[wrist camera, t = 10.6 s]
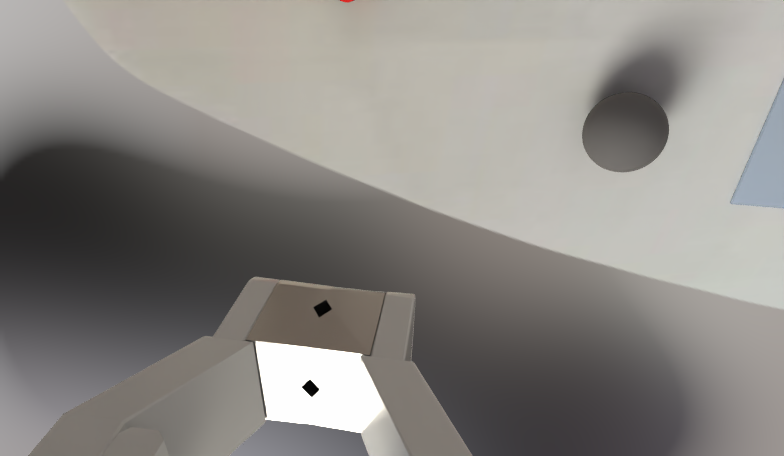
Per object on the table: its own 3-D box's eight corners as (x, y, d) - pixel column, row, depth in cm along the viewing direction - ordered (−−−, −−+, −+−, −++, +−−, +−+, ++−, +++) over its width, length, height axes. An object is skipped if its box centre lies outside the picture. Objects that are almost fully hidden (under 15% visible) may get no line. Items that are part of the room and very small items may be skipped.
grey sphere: (692, 124, 31) (676, 89, 35) (602, 104, 31) (597, 72, 36) (651, 195, 34) (641, 156, 38) (571, 175, 35) (570, 139, 39)
